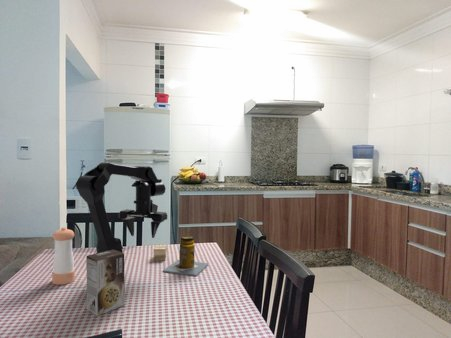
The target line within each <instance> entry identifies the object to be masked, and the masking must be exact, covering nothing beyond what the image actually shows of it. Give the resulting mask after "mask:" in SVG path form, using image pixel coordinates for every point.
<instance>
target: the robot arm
mask: <svg viewBox="0 0 451 338" xmlns="http://www.w3.org/2000/svg"><path fill="white" fill-rule="evenodd" d="M112 175H114V176H124V177H129V178H130V179H133V180H135V181H134V182H133V183H132V185H131V187H132V188H133V187H134V188H135V200H133V204H135V210H134V209H128V208H127V209H123V210H120V211H119V213H118V218H119V219H121V221H123V222H124V223H123V224H125V226H126V227H127V230H128V232H129V234H130V235H131V237H134V236H135V220H136V218H143V219H151V221H150V231H151V238H152V239H154V238H155V237H156V234H157V231H158V229H159V226H160V225H161V223H163V222H164V221H165V220H168V213H167V212H166V211H158V210H159V209H158V208H159V206H158V204H156V203H154V202H153V199H151V197H157V196H163V195H164V194H165V193H166V185H165V184H164V183H163V179H160V178H157V176H156V173H155V172H154V170H153V167H152V166H147V165H146V166H145V165H133V166H130V165H122V164H116V163H112V162H103V161H102V162H100V163H99V164H98V165H96V167H94V168H92V169H90V170H89V171H87V172H86V173H84V175H81V176H80V177H78V178H77V181H76V182H75V187H76V190H77V192H78V194H79V196H80V198H82V200H84V201H85V203H86V204H87V207H88V210H89V211H88V212H89V214H90V217H91V221H92V223H93V227H94V230H95V233H96V236H97V244H96V247H95V249H96V253H100V252H104V251H109V250H117V251H119V252H121V253H124V252H123V249H124V247H123V245H122V240H121V238H118V237H114V235H113V232H112V231H113V230H112V228H111V225H110V222H109V221H110V220H109V218H108V215H107V211H106V208H105V204H104V199H103V198H104V195H105V192H106V191H105V186H106V185H107V184H108V183H109V181H110V179H111V176H112Z"/></svg>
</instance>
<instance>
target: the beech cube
mask: <svg viewBox="0 0 451 338" xmlns="http://www.w3.org/2000/svg"><path fill="white" fill-rule="evenodd" d="M167 247H168V245H155V246H154V248H153V261H166V258H167V249H168V248H167Z"/></svg>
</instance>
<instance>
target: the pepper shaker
mask: <svg viewBox="0 0 451 338" xmlns="http://www.w3.org/2000/svg"><path fill="white" fill-rule="evenodd" d="M52 238H53V240H54V256H53V261H52V264H53V267H52V268H53V271H52V274H51V278H52V279H51V282H52V284H53V285H67V284H71V283H73V282H74V281H75V280H76V276H75V275H76V272H75V271H76V269H75V268H74V267H75V265H74V264H75V262H74V261H75V259H74V253H73V239H74V238H75V232H74V231H73V230H72V229H69V228H66V227H61V228H60V229H57V230H55V231H54V232H53V234H52Z"/></svg>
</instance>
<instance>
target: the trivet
mask: <svg viewBox="0 0 451 338" xmlns="http://www.w3.org/2000/svg"><path fill="white" fill-rule="evenodd" d="M177 264H179V259H177V260H175V261H174V262H173V263H171V264H170V265H169V266H167V267H166V268H164V269H162V272H163V273H169V274H176V275H177V274H178V275H184V276H190V277H191V276H192V277H197V276H198V275H200V274H201V273H202V272H203V271H204V270H203V269H204V268H205V267H206V266H207V267H208V266H209V265H208V264H210V263H209V262H208V263H207V262H199V261H194V265H197V266H198V267H195V268H192V269H188V270H184V271H181V270H177V269H176V268H174V267H172V266H173V265H177ZM207 267H206V268H207ZM206 268H205V269H206Z"/></svg>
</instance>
